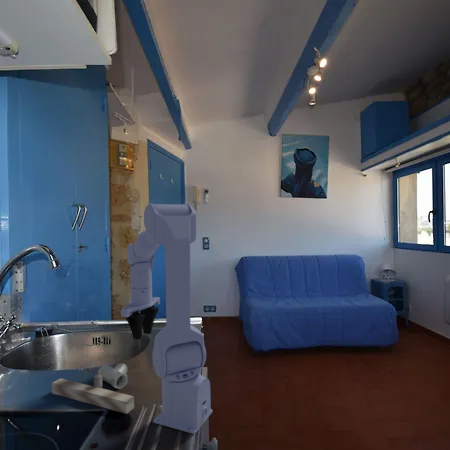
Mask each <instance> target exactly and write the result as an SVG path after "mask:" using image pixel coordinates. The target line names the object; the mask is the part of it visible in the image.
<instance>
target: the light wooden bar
mask: <svg viewBox="0 0 450 450" xmlns="http://www.w3.org/2000/svg"><path fill="white" fill-rule="evenodd" d="M51 394H52V395H57V396H61V397H63V398H68V399H71V400H75V401H78V402H82V403H86V404H89V405H94V406H97V407H100V408H104V409H108V410H111V411H115V412H118V413H122V414H125V415H127V414H129V413H130V412H131V411H133V409H135V396H134V395H129V394H127V393H122V392H117V391H114V390H110V389H106V388H103V380H102V375H98V374H96V375H94V376H93V385H89V384H86V383H81V382H78V381H77V382H76V381H74V380H69V379H64V378H61V377H60V378H59V379H57V380H55V381H53V382H51Z"/></svg>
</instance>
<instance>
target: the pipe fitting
mask: <svg viewBox="0 0 450 450" xmlns="http://www.w3.org/2000/svg"><path fill="white" fill-rule="evenodd" d="M128 370H129V369H128V366H127V365H126V364H125V363H121V362H120V363H117V364H116V366H115V367H113V366H111V365H108V364H103V365H102V366H101V367H100V368H99V369H98V371H97V375H102V381H104V382H106V383H107V384H109V385H111V387H113V388H115V389H118V390H121V389H123V388H124V387H125V386H126V385H127V384H128V374H127V373H128Z"/></svg>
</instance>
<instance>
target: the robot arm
mask: <svg viewBox="0 0 450 450" xmlns="http://www.w3.org/2000/svg"><path fill="white" fill-rule="evenodd" d="M143 223H144V224H143V225H144V229H145V230H142V231H141V232H140V233H139V234H138V236H137V238H136V240H135V242H134V243H128V245H127V249H126V251H127V252H126V255H127V256H126V258H127V262H128V265H129V269H130V270H129V271H130V301H128V302H127V303H128V304H127V305H126V306H125V307H123V308H121V309H120V316H121V318H124V319H125V320H126V322H127V323H128V325H129V329H130V331H131V333H132V339H134V340H139V341H140V340H141V339H142V337H143V334H144V335H151V333H152V331H153V326H154V322H155V319H156V317H157V314H158V313H159V310H160V309H159V307H158V306H157V305H161V297H158V296H153V274H152V273H153V270H154V261H155V256H156V255H155V252H156V251H157V250H158V248H159V247H160V245H161V246H163V248H164V249H165V323H166V324H165V326H164V327H163V328H161V330H160V331H159V332H158V333H157V334H156V335H155V336H154V340H153V341H154V342H153V349H152V354H151V356H152V357H151V359H152V366H153V370H154V372H155V375H157V377H159V378H160V379H161V399H162V401H161V403H162V407H161V408H162V412H160V413H159V414H158V415H157V416H156V417H155V418H154V419H153V423H154V424H157V425H160V426H161V425H162V426H164V427H169V428H172V429H174V430H179V431H182V432H186V433H190V434H196V433H197V432H198V431H199V429H201V427H202V426H203V425H204V423H205V422H206V421H207V419H208V418H209V417H210V416H211V414H212V413H213V409H212V407H211V399H212V398H211V395H212V394H211V382H210V379H209V378H207V377H205V376H203V375H202V374H201V369H202V368H203V367H205V364H206V361H207V349H206V347H205V339H204V335H203V333H202V331H201V330H200V329H198V328H197V327H195V326H194V325H192V324H191V244H192V243H194V242H195V241H196V240H197V213H196V212H195V210H194V208H193V206H192V205H191V204H189V203H185V204H175V203H174V204H165V203H164V204H163V203H161V204H160V203H156V204H155V203H148V204H147V205H146V206H145V208H144V212H143Z"/></svg>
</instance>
